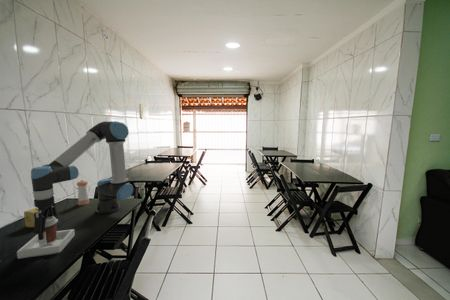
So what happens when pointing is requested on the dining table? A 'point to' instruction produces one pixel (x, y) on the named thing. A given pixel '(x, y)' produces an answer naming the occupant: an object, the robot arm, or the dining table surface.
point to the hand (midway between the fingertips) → (48, 239)
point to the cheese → (30, 217)
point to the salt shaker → (82, 193)
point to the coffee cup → (51, 229)
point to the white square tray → (52, 248)
